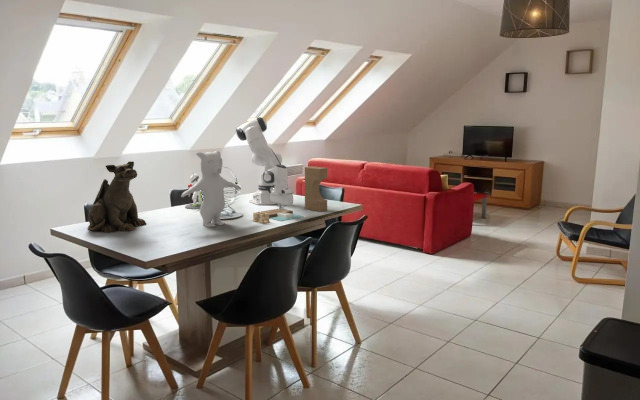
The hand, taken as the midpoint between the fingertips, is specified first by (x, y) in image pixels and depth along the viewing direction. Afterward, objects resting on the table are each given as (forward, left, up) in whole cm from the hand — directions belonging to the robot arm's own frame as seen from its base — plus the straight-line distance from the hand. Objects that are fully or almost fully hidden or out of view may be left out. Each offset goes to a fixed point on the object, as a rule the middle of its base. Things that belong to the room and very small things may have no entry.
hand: (281, 210), depth 337 cm
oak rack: (+4, -20, -4) cm, 21 cm away
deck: (-8, 0, -4) cm, 9 cm away
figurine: (-68, -24, -4) cm, 72 cm away
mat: (+5, 0, -4) cm, 6 cm away
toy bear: (-9, -46, -4) cm, 47 cm away
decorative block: (-1, +32, -4) cm, 32 cm away
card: (+3, 0, -4) cm, 5 cm away
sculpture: (-41, -92, -4) cm, 101 cm away
